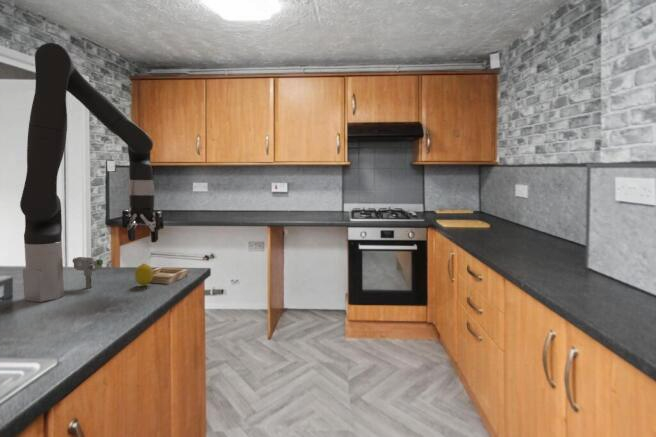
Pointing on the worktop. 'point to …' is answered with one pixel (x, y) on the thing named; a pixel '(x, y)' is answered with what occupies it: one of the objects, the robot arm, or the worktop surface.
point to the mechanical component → (87, 267)
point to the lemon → (144, 274)
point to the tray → (168, 275)
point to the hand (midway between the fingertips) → (143, 241)
